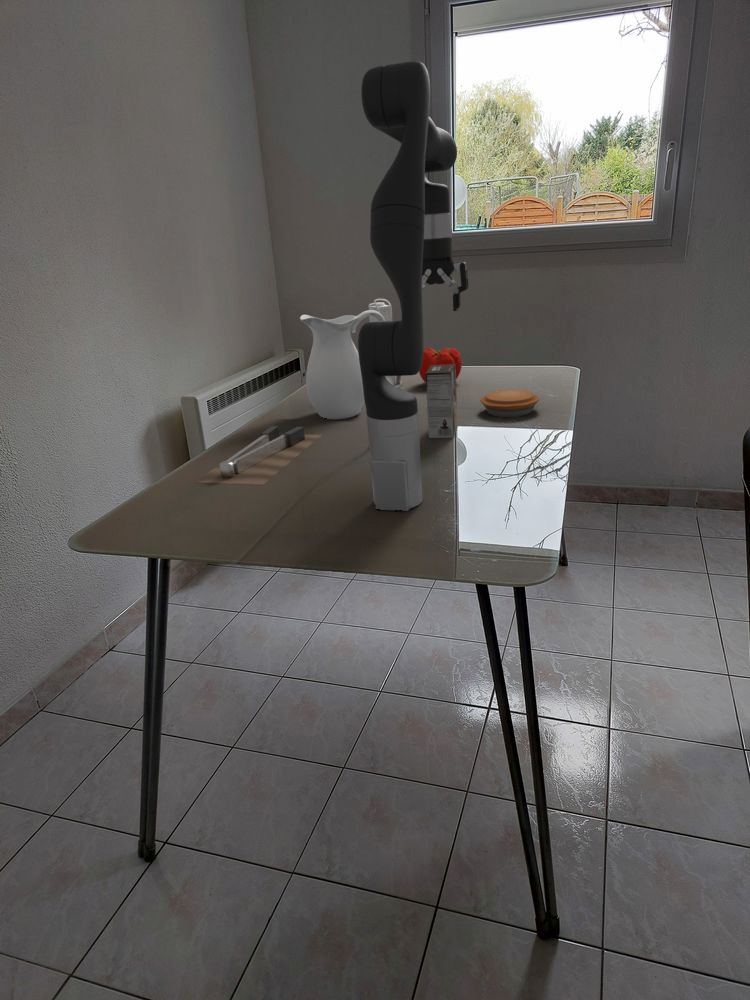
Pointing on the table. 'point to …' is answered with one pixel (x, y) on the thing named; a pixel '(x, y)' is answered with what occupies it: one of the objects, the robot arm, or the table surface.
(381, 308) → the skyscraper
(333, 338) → the pitcher
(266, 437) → the arm
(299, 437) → the arm
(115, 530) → the table surface
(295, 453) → the board
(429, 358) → the tomato
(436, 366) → the coffee box
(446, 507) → the table surface
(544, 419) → the table surface
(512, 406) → the pie
